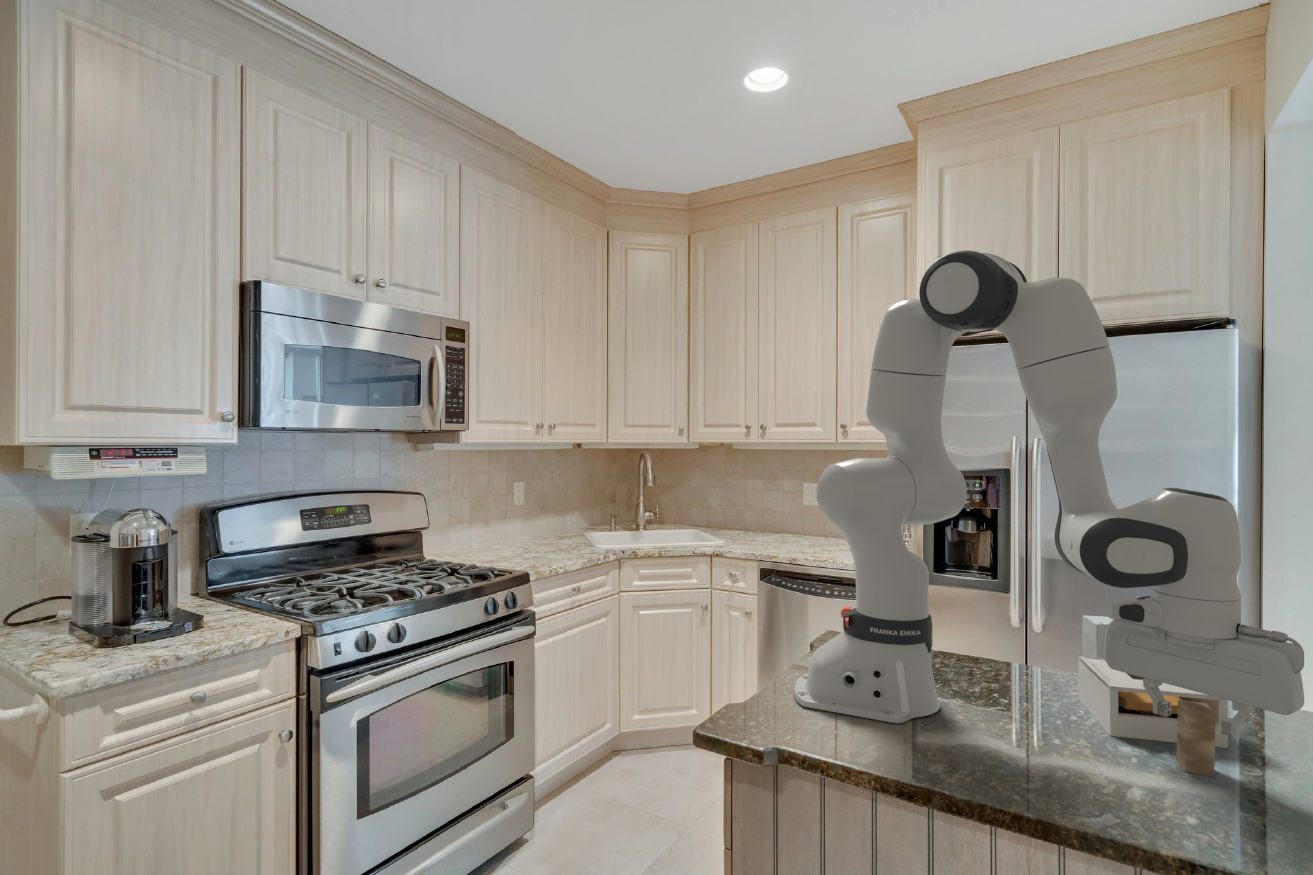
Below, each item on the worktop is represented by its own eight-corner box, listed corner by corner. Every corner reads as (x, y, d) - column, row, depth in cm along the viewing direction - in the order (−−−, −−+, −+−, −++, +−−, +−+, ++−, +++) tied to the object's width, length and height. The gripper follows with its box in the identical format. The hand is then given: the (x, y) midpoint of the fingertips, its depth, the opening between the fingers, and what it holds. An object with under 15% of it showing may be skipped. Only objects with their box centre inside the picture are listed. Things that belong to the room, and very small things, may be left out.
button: (1126, 720, 98) (1126, 700, 98) (1106, 699, 106) (1106, 681, 106) (1191, 726, 96) (1191, 706, 96) (1166, 705, 104) (1166, 687, 104)
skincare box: (1125, 699, 110) (1125, 625, 110) (1096, 697, 111) (1096, 624, 111) (1108, 686, 116) (1108, 615, 116) (1081, 684, 117) (1080, 614, 117)
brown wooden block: (1184, 771, 86) (1186, 708, 86) (1176, 760, 89) (1178, 699, 89) (1214, 776, 85) (1215, 712, 85) (1204, 765, 88) (1206, 703, 88)
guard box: (1110, 735, 96) (1110, 686, 96) (1078, 699, 110) (1078, 656, 110) (1227, 748, 92) (1227, 696, 93) (1180, 708, 106) (1180, 664, 106)
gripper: (1313, 632, 80) (1313, 750, 79) (1121, 597, 97) (1121, 694, 97) (1293, 640, 76) (1293, 763, 76) (1098, 602, 94) (1098, 703, 94)
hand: (1195, 724), depth 87 cm, fingers open, 6 cm apart
